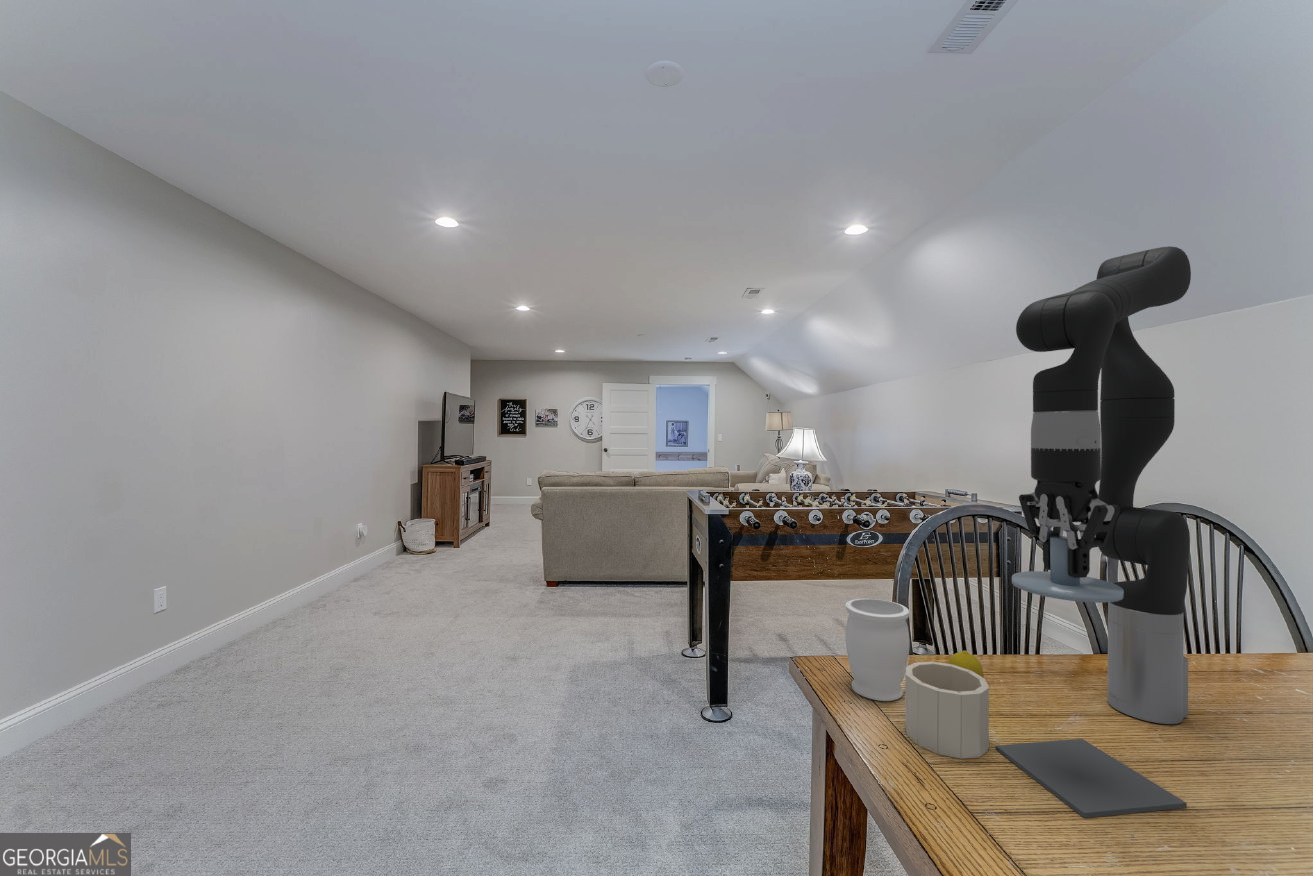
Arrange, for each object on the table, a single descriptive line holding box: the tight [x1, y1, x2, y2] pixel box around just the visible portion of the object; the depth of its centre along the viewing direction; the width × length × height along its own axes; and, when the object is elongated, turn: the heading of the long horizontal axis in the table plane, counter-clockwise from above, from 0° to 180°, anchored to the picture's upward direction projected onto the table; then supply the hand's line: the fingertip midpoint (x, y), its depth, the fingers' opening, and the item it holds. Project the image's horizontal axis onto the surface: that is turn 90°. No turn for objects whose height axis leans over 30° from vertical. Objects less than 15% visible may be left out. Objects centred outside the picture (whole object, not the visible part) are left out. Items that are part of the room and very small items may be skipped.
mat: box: [995, 738, 1188, 819], centre depth 72 cm, size 14×14×1 cm
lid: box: [1011, 535, 1124, 604], centre depth 73 cm, size 12×12×7 cm
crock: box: [904, 661, 990, 760], centre depth 81 cm, size 11×11×9 cm
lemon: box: [947, 650, 985, 679], centre depth 94 cm, size 6×6×8 cm
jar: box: [845, 598, 910, 702], centre depth 96 cm, size 11×10×15 cm
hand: (1065, 572), depth 73 cm, fingers closed on lid, 3 cm apart
